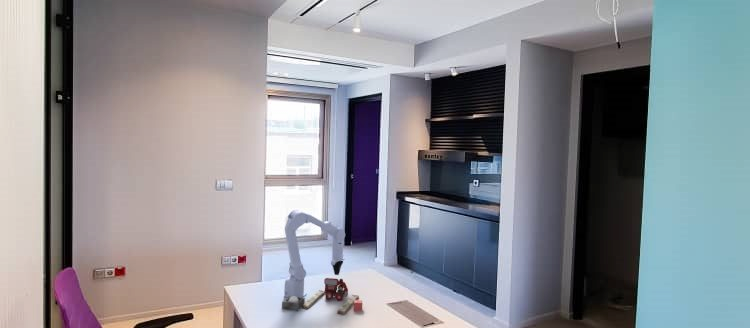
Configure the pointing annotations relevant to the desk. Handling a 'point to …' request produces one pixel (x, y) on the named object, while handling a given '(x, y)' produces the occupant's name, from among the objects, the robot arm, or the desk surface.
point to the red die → (357, 305)
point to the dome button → (293, 299)
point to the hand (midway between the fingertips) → (336, 274)
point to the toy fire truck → (335, 289)
